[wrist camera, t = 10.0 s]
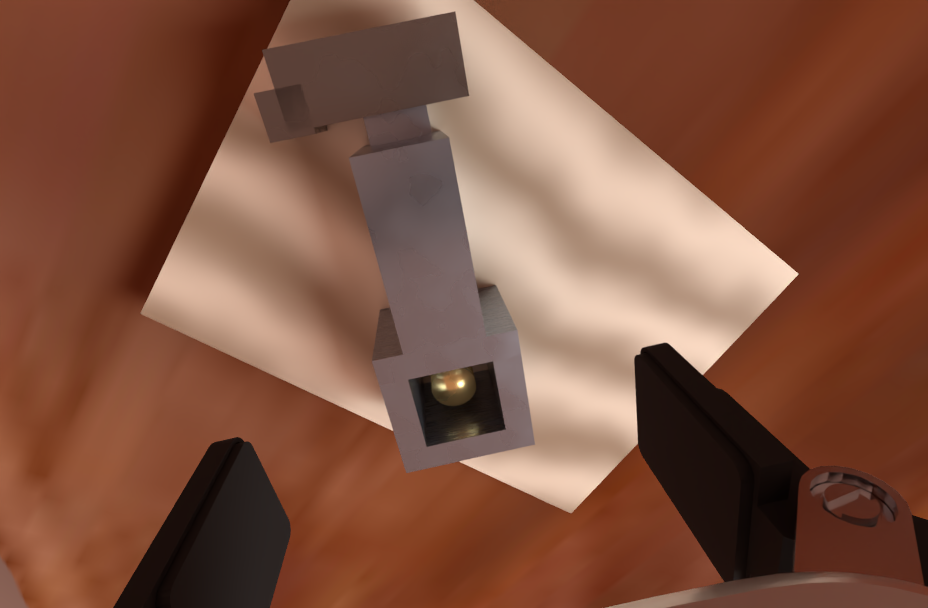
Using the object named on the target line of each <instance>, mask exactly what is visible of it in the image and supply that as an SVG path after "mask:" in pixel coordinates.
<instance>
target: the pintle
mask: <svg viewBox="0 0 928 608" xmlns="http://www.w3.org/2000/svg"><path fill="white" fill-rule="evenodd" d="M431 387H432V393H433V396H434V397H435V399H436V400H437V401H438V402H440V403H442V404H444V405H447V406H458V405H461V404H464V403H466V402H467V401H469V400H470V399H471V398H472V397H473V395H474V393H475V390H476V381H475V377H474V373H473V368H472V366H469V367H465V368H460V369H455V370H451V371H446V372H442V373H437V374H432V375H431Z"/></svg>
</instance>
